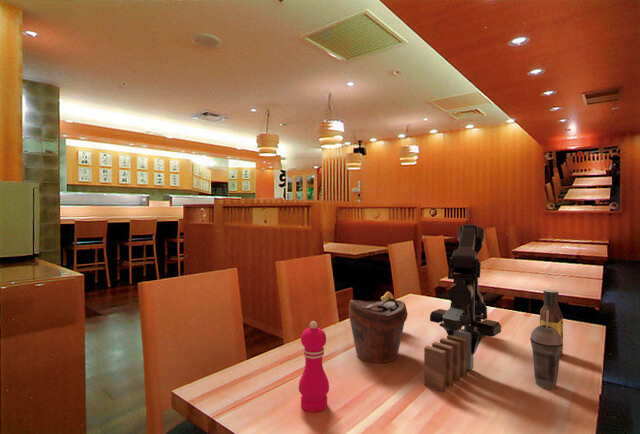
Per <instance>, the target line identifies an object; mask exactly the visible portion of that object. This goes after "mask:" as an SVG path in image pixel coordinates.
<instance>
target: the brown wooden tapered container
mask: <svg viewBox="0 0 640 434" xmlns="http://www.w3.org/2000/svg"><path fill="white" fill-rule="evenodd" d="M348 303H349V306H348V313H349V314H348V318H349V322H350V327H351V332H352V333H351V334H352V336H353V342H354V347H355V353H356V356H357V357H359V359H361V360H363V361H366V362H370V363H375V364H376V363H377V364H381V363H382V364H385V363H390V362H393V361H395V360H396V359H397V358H398V356H399V351H400V346H401V341H402V337H403V331H404V327H405V324H406V323H405V322H406V321H407V319H408V310H407V306H406V303H405V302H404V301H402V300H398V299H397V300H396V299H395V298H394V299H389V300H387V301H382V300H381V301H365V300H357V299H352V298H351V299H350V300H349V302H348Z"/></svg>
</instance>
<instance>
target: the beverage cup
mask: <svg viewBox="0 0 640 434" xmlns="http://www.w3.org/2000/svg"><path fill="white" fill-rule="evenodd" d="M548 321H549V310H547V315H546V325H541V326H540V325H538V326H537V327H535V328H534V329H533V330H532V332H531V334H530V338H529V340H530V344H531V351H532V358H533V359H532V361H533V370H534V371H533V372H534V379H535V385H536V386H538V387H539V388H542V389H547V390H554V389H556V387H557V383H558V377H559V376H558V375H559V368H560V366H559V365H560V358H561V356H560V352H561V350H562V345H563V346H564V342H563V343H562V339H561V336H560V334H559V333H558V331H557V330H555V329H554V328H553V327H550V326H548ZM562 351H563V350H562Z"/></svg>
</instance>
